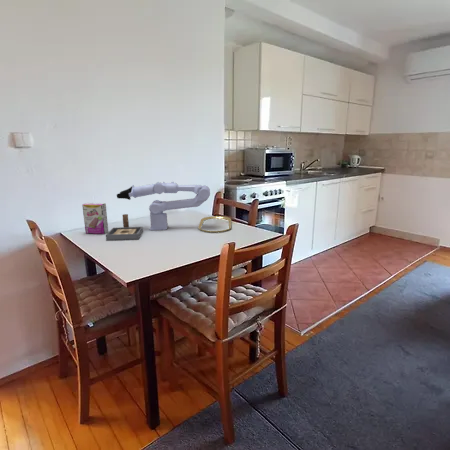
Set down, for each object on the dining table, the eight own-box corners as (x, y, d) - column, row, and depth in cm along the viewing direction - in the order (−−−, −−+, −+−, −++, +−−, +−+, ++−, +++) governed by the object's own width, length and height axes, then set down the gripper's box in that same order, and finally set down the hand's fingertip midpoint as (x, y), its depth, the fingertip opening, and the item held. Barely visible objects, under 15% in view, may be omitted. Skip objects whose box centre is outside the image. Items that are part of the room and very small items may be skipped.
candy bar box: (85, 234, 177) (81, 204, 173) (89, 231, 182) (86, 202, 178) (104, 234, 176) (101, 204, 172) (109, 231, 181) (106, 202, 177)
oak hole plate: (136, 232, 178) (136, 228, 177) (133, 237, 168) (132, 234, 167) (118, 232, 177) (117, 229, 176) (113, 238, 167) (112, 234, 167)
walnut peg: (129, 227, 189) (128, 214, 187) (128, 228, 186) (127, 215, 184) (124, 227, 189) (123, 214, 187) (123, 229, 186) (121, 215, 184)
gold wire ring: (231, 218, 211) (231, 216, 210) (231, 233, 177) (231, 231, 176) (202, 218, 211) (202, 216, 211) (196, 233, 177) (196, 231, 177)
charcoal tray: (143, 232, 180) (142, 226, 179) (138, 239, 166) (137, 234, 166) (113, 232, 179) (112, 227, 178) (106, 240, 165) (105, 234, 165)
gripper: (143, 181, 187) (120, 185, 187) (138, 185, 173) (113, 190, 173) (146, 193, 189) (123, 197, 189) (141, 198, 175) (116, 203, 175)
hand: (118, 195), depth 181 cm, fingers open, 7 cm apart
